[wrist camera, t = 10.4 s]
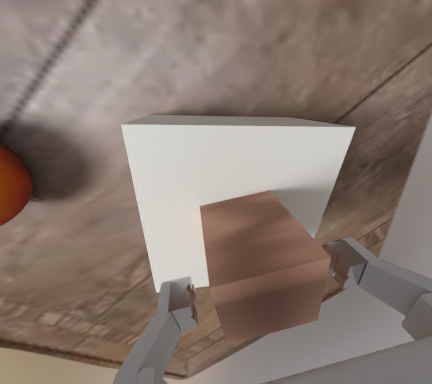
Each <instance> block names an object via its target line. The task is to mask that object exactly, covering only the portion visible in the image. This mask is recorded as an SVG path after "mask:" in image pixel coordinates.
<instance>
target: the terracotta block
mask: <svg viewBox="0 0 432 384" xmlns="http://www.w3.org/2000/svg"><path fill="white" fill-rule="evenodd" d="M200 214H201V222H202V230H203V239H204V247H205V255H206V263H207V271H208V280H209V288H210V291H211V294H212V298H213V301H214V304H215V307H216V310H217V313H218V317H219V320H220V323H221V326H222V329H223V332H224V336H225V339H226V342H227V345H229V344H233V343H236V342H240V341H244V340H247V339H251V338H255V337H258V336H262V335H266V334H270V333H273V332H277V331H280V330H284V329H288V328H292V327H295V326H299V325H302V324H306V323H310V322H313V321H317V320H318V315H319V311H320V306H321V302H322V297H323V293H324V288H325V283H326V279H327V274H328V270H329V265H330V261H331V257H330V256H329V255H328V253H327V252H326V251H325V250H324V249H323V248H322V247H321V246H320V245H319V244H318V243H317V242H316V241H315V239H314V238H313V237H312V236H311V235H310V234H309V233H308V232H307V231H306V230H305V229H304V228H303V226H302V225H301V224H300V223H299V222H298V221H297V220H296V219H295V218H294V217H293V216H292V215H291V214H290V212H289V211H288V210H287V209H286V208H285V207H284V206H283V205H282V204H281V203H280V202H279V201H278V200H277V198H276V197H275V196H274V195H273V194H272V193H271V192H270V191H269V190H268V191H264V192H259V193H255V194H250V195H246V196H242V197H237V198H233V199H229V200H224V201H220V202H215V203H211V204H207V205H202V206H200Z"/></svg>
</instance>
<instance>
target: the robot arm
mask: <svg viewBox="0 0 432 384" xmlns="http://www.w3.org/2000/svg"><path fill="white" fill-rule="evenodd" d="M322 248H323V249H324V250H325V251H326V252H327V253H328V255H329V256H330V257H331V261H330V265H329V270H328V271H329V272H331V273H333V278H334V279H335V280H336V282H337V283H338V284H339V285H340V286H341V288H342V289H346V288H350V287H355V286H359V287H360V288H361V289H363V290H365V291H366V292H368V293H369V294H371V295H373V296H375V297H376V298H378V299H379V300H381V301H382V302H384V303H386V304H388V305H389V306H391V307H392V308H394V309H396V310H397V311H399V312H400V313H402V314H404V315H405V316H406V317H405V319H404V320H403V322H402V327H403V328H404V329H405V330H406V331H407V332H408V333H409V334H410V335H411V336H412V337H413V338H414V339H415V341H412V342H408V343H405V344H401V345H397V346H394V347H390V348H387V349H384V350H380V351H376V352H373V353H369V354H365V355H362V356H358V357H355V358H351V359H348V360H344V361H341V362H337V363H334V364H330V365H326V366H323V367H319V368H316V369H312V370H309V371H305V372H302V373H298V374H294V375H291V376H287V377H284V378H280V379H277V380H273V381H270V382H266V383H262V384H432V279H431V278H429V277H426V276H424V275H421V274H418V273H416V272H413V271H411V270H408V269H406V268H403V267H401V266H398V265H395V264H393V263H390V262H388V261H385V260H382V259H381V260H379V259H378V258H377V257H375V256H374V255H373V254H372V253H370V252H369V251H368V250H367V249H366V248H364V247H363V246H362V245H361V244H359V243H358V242H357V241H356V240H355V239H353V238H351V237H350V238H345V239H341V240H336V241H332V242H328V243H325V244H324V245H323V247H322ZM196 304H197V300H196V291H195V287H194V285H193V284H192V279H191V277H190V276H188V277H183V278H179V279H174V280H170V281H165V282H162V284H161V288H160V295H159V302H158V309H157V315H156V316H153V318H152V320H151V321H150V323H149V324H148V326H147V327H146V329H145V330H144V332H143V333H142V335H141V336H140V338H139V340H138V341H137V343H136V344H135V346H134V347H133V349H132V350H131V352H130V353H129V355H128V356H127V358H126V359H125V361H124V363H123V364H122V366H121V367H120V369H119V370H118V372H117V373H116V375H115V379H114V383H113V384H167V383H166V382H165V380H164V379H163V378H162V377H163V375H164V372H165V370H166V368H167V365H168V363H169V361H170V358H171V356H172V354H173V351H174V349H175V347H176V344H177V342H178V339H179V337H180V335H181V331H183V330H187V329H190V328H194V327H197V326H198V321H197V311H196V308H195V305H196Z"/></svg>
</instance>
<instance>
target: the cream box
mask: <svg viewBox="0 0 432 384" xmlns="http://www.w3.org/2000/svg"><path fill="white" fill-rule="evenodd" d="M121 127H122V131H123V136H124V141H125V146H126V150H127V155H128V160H129V165H130V169H131V174H132V179H133V184H134V189H135V193H136V198H137V203H138V208H139V212H140V217H141V222H142V227H143V232H144V236H145V241H146V246H147V251H148V255H149V260H150V265H151V270H152V275H153V279H154V284H155V289H156V292H160V288H161V284H162V282H165V281H170V280H174V279H179V278H183V277H188V276H190V277H191V279H192V284H193V285H194V287H195V288H196V287H204V286H209V280H208V271H207V263H206V255H205V247H204V239H203V230H202V222H201V214H200V206H202V205H207V204H211V203H215V202H220V201H224V200H229V199H233V198H237V197H242V196H246V195H250V194H255V193H259V192H264V191H268V190H269V191H270V192H271V193H272V194H273V195H274V196H275V197H276V198H277V200H278V201H279V202H280V203H281V204H282V205H283V206H284V207H285V208H286V209H287V210H288V211H289V212H290V214H291V215H292V216H293V217H294V218H295V219H296V220H297V221H298V222H299V223H300V224H301V225H302V226H303V228H304V229H305V230H306V231H307V232H308V233H309V234H310V235H311V236H312V237H313V238H315V235H316V232H317V230H318V227H319V224H320V222H321V219H322V216H323V214H324V211H325V208H326V206H327V203H328V200H329V198H330V195H331V192H332V190H333V187H334V184H335V182H336V179H337V176H338V174H339V171H340V168H341V166H342V163H343V160H344V158H345V155H346V152H347V150H348V147H349V144H350V142H351V139H352V136H353V134H354V131H355V128H356V127H352V126H345V125H338V124H332V123H325V122H318V121H311V120H305V119H298V118H290V117H240V116H190V115H147V116H144V117H141V118H138V119H135V120H132V121H129V122H126V123H124V124H121Z"/></svg>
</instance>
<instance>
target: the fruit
mask: <svg viewBox="0 0 432 384" xmlns="http://www.w3.org/2000/svg"><path fill="white" fill-rule="evenodd" d="M32 194H33V184H32V178H31V176H30V174H29V172H28V171H27V169H26V168H25V166H24V165H23V163H22V161H21V159H20V157H19V156H18V155H17V154H16V153H14V152H13V151H12V150H10V149H8V148H6V147H5V146H3V145H1V144H0V226H1V225H3V224H5V223H7V222H8V221H10V220H11V219H13V218H14V217H15V216H16V215H17V214H19V213H20V212H21V211H22V210H23V208H24V207H25V206H26V204H27V203H28V202H29V200H33V201H38V202H39V201H40V199H37V198H34V197H31V196H32Z"/></svg>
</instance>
